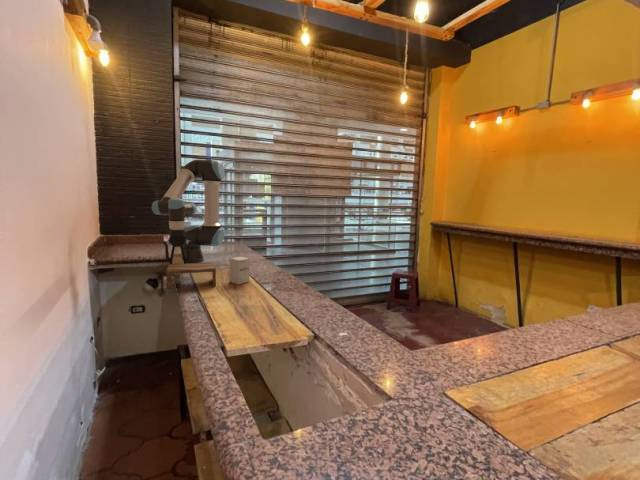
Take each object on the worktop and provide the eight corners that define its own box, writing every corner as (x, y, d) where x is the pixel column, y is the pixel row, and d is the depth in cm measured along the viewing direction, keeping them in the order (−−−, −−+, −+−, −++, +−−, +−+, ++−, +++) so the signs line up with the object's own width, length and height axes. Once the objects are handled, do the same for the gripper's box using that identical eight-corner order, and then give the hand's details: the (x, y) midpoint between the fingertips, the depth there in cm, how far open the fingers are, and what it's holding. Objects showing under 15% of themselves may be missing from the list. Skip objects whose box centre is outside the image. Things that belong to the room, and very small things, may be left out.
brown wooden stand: (169, 281, 169) (169, 264, 168) (214, 279, 176) (214, 262, 175) (166, 289, 156) (166, 270, 155) (215, 286, 163) (215, 268, 162)
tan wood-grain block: (174, 275, 177) (174, 252, 175) (182, 274, 178) (182, 252, 176) (172, 283, 161) (171, 259, 159) (181, 283, 163) (180, 259, 161)
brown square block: (164, 282, 167) (164, 276, 167) (175, 281, 169) (175, 276, 168) (163, 285, 162) (163, 279, 162) (174, 284, 164) (174, 278, 164)
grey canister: (238, 284, 168) (238, 260, 166) (229, 281, 172) (229, 258, 170) (249, 281, 174) (249, 258, 172) (240, 279, 178) (240, 256, 176)
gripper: (158, 229, 165) (159, 275, 169) (194, 229, 171) (195, 273, 175) (159, 228, 172) (161, 271, 176) (194, 227, 178) (195, 270, 182)
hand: (178, 272), depth 175 cm, fingers closed on tan wood-grain block, 4 cm apart
